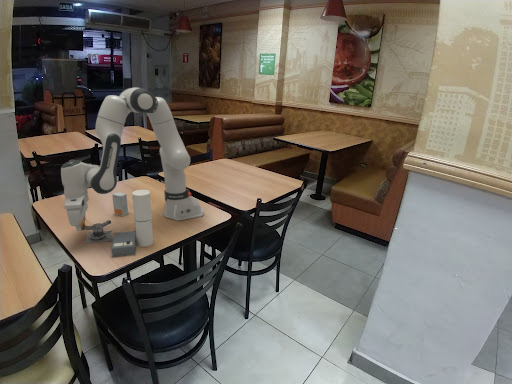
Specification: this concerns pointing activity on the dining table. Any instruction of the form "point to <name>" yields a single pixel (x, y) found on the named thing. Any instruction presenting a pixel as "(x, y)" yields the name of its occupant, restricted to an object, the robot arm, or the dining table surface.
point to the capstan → (96, 229)
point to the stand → (118, 242)
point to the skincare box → (120, 204)
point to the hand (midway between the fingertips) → (81, 225)
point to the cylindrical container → (143, 217)
